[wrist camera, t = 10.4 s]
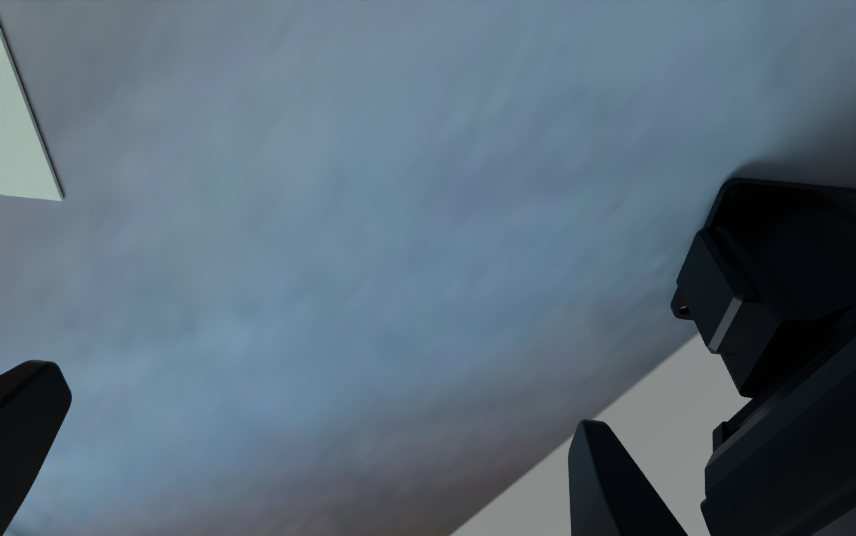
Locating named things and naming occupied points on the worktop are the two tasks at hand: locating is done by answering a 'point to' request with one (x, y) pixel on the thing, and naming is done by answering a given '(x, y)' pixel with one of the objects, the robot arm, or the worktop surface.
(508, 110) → the worktop surface
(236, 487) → the worktop surface
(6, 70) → the mat
